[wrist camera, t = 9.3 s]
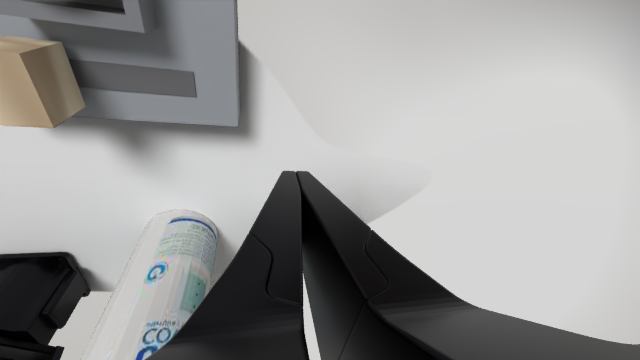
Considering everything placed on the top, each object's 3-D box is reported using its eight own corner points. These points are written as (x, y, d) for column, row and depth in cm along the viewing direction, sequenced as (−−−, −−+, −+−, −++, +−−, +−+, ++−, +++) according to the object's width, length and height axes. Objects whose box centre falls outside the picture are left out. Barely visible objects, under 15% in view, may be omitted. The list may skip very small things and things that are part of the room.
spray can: (126, 229, 23) (-152, 732, 8) (184, 196, 22) (4, 692, 7) (182, 263, 27) (74, 644, 11) (233, 236, 26) (193, 611, 11)
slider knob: (41, 103, 14) (-1, 125, 12) (9, 35, 12) (-47, 46, 10) (85, 106, 14) (53, 128, 12) (61, 41, 13) (18, 53, 10)
